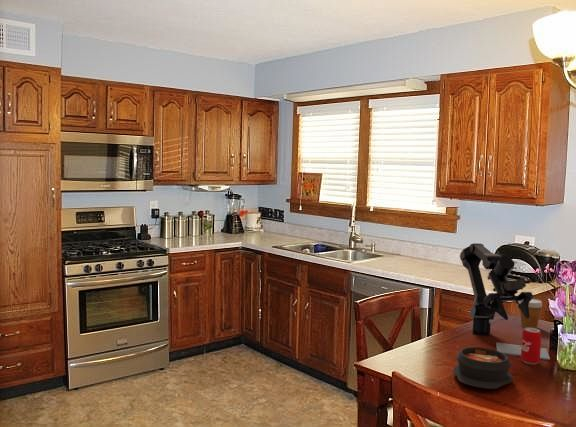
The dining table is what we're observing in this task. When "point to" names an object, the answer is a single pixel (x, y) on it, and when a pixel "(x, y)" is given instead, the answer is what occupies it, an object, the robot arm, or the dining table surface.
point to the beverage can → (531, 345)
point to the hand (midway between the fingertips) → (517, 318)
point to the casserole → (483, 368)
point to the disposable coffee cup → (532, 314)
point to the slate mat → (518, 350)
